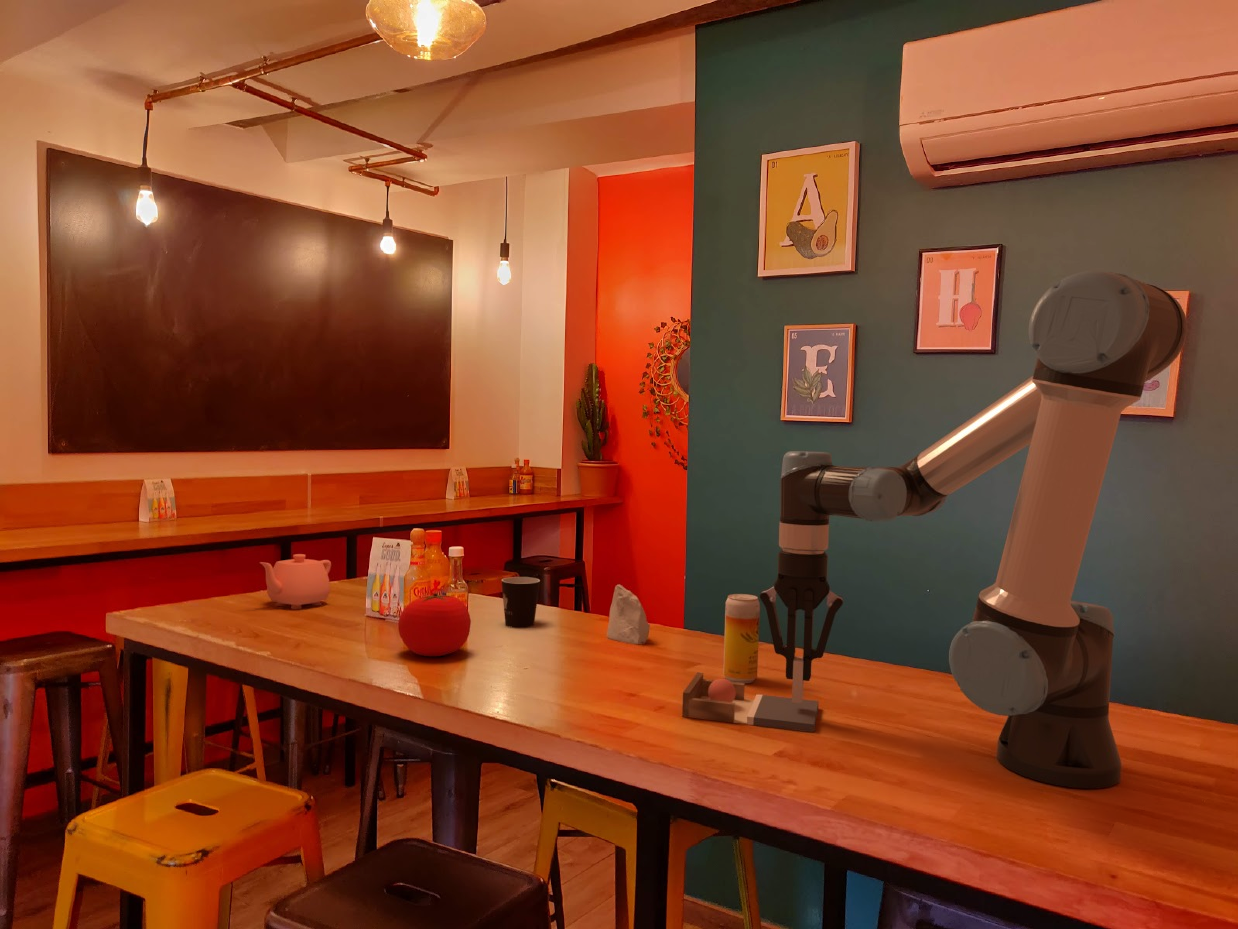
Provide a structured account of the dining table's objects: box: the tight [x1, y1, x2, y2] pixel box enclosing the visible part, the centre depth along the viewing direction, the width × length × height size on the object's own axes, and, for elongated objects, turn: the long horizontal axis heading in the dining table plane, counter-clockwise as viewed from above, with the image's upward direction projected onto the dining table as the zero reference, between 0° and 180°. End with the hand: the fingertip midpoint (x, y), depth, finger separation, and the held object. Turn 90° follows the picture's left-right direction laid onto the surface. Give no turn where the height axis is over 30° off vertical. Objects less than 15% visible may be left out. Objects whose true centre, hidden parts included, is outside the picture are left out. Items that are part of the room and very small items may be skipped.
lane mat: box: [700, 693, 819, 733], centre depth 139 cm, size 20×12×1 cm, turn 74°
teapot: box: [258, 553, 332, 610], centre depth 209 cm, size 13×20×12 cm, turn 147°
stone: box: [606, 584, 651, 646], centre depth 185 cm, size 10×5×12 cm, turn 40°
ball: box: [708, 678, 736, 702], centre depth 141 cm, size 4×4×4 cm
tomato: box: [397, 592, 472, 657], centre depth 169 cm, size 13×14×12 cm
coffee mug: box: [501, 576, 541, 629], centre depth 197 cm, size 12×9×10 cm
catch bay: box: [681, 672, 746, 724], centre depth 140 cm, size 8×12×4 cm, turn 164°
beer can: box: [722, 593, 761, 684], centre depth 157 cm, size 6×6×15 cm
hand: (797, 700), depth 137 cm, fingers closed
